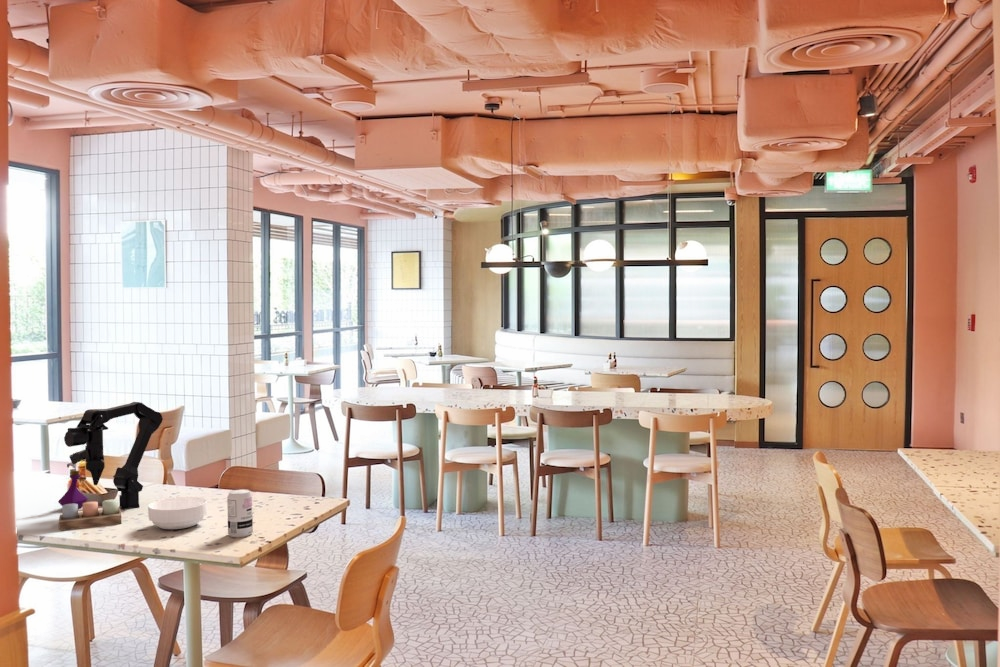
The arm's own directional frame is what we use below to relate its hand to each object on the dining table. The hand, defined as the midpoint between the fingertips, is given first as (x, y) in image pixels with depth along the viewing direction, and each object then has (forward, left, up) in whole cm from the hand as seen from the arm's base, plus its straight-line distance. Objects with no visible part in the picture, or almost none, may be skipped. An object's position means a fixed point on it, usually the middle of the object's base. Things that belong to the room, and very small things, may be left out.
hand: (95, 483), depth 306 cm
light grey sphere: (+8, +12, -9) cm, 17 cm away
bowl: (-26, +32, -12) cm, 43 cm away
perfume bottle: (+8, -16, -12) cm, 22 cm away
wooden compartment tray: (+2, +12, -12) cm, 17 cm away
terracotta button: (+2, +12, -9) cm, 15 cm away
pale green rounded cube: (-5, +12, -9) cm, 16 cm away
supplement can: (-44, +54, -12) cm, 71 cm away
